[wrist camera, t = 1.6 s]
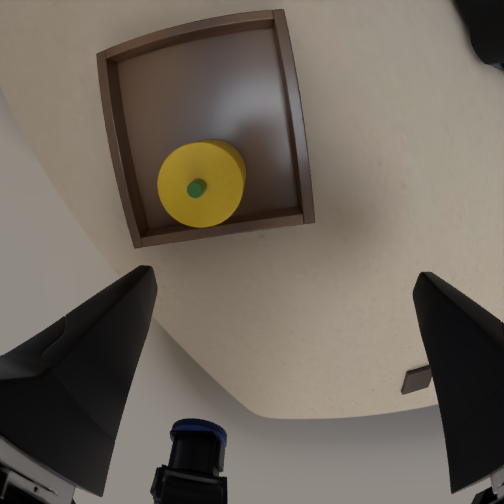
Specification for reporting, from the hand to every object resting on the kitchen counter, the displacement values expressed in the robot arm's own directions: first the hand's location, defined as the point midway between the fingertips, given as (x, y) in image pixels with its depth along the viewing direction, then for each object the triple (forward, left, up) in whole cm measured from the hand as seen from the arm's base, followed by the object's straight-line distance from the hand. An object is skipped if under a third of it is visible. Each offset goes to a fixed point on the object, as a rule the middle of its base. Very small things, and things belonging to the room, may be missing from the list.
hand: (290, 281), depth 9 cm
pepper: (-4, +2, -14) cm, 14 cm away
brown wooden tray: (-4, +6, -14) cm, 16 cm away
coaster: (+16, -25, -14) cm, 33 cm away
